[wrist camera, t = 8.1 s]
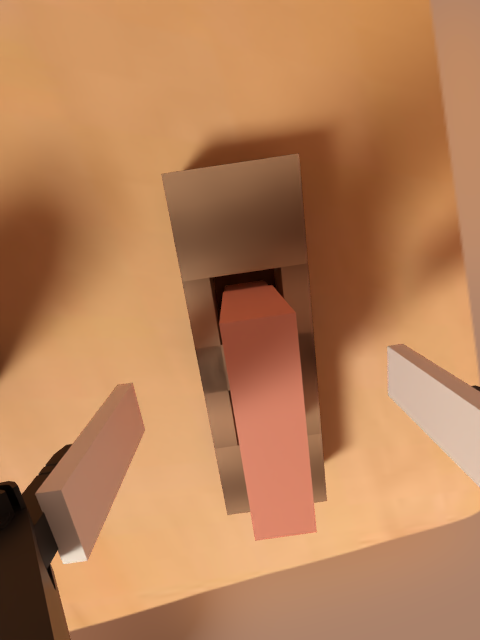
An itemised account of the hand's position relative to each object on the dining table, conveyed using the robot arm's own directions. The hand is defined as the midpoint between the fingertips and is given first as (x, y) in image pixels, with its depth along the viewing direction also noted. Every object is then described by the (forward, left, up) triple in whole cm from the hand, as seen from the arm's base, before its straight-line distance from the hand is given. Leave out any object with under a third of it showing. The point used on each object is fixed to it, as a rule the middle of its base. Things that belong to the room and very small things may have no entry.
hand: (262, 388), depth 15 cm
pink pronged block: (0, 0, -6) cm, 6 cm away
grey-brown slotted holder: (0, 0, -6) cm, 6 cm away
